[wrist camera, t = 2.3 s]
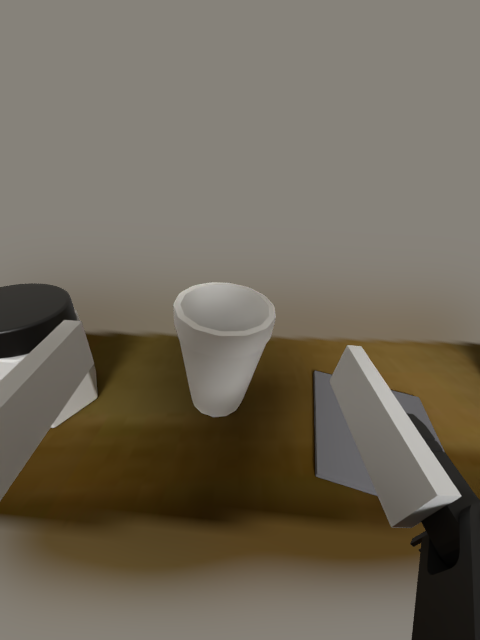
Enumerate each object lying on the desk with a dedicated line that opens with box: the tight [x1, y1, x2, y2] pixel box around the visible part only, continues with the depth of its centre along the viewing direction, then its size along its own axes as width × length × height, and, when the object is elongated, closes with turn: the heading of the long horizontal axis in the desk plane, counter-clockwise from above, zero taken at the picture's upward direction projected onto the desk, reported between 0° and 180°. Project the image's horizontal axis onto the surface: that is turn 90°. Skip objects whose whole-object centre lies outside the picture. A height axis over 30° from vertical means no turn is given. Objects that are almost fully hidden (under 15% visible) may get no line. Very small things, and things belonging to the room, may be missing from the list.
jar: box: [0, 284, 98, 428], centre depth 23 cm, size 9×8×12 cm
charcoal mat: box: [314, 371, 444, 496], centre depth 28 cm, size 14×14×1 cm
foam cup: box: [173, 282, 276, 417], centre depth 26 cm, size 10×9×13 cm
